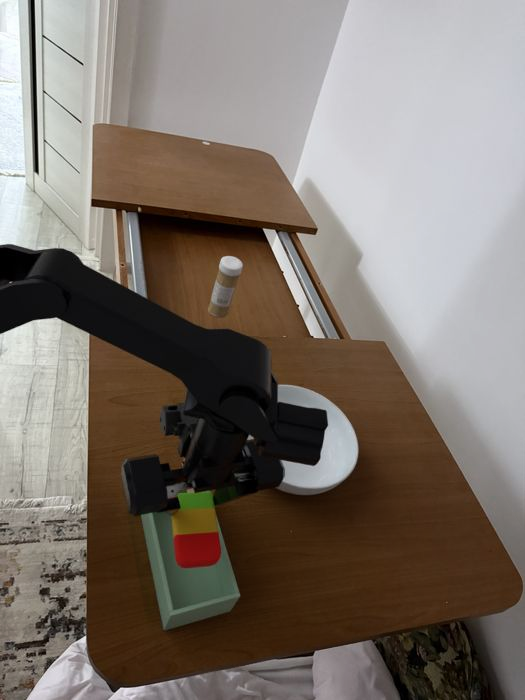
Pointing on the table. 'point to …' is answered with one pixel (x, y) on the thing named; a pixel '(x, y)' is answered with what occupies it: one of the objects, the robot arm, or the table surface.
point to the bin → (186, 577)
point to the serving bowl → (335, 452)
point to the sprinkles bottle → (225, 286)
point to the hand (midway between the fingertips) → (193, 507)
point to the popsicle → (196, 530)
